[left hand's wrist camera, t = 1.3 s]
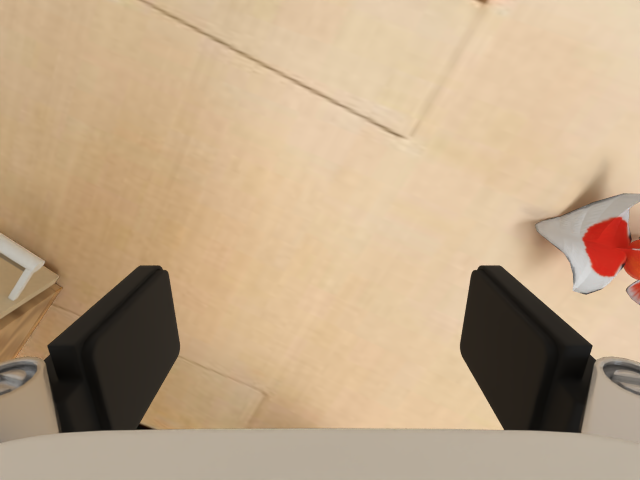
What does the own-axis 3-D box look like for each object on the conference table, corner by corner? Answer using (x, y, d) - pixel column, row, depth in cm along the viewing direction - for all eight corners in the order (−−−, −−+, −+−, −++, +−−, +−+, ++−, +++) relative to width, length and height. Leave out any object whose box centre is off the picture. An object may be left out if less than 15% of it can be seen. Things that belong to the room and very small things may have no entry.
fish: (630, 341, 39) (709, 352, 30) (500, 259, 43) (533, 245, 34) (683, 262, 40) (778, 248, 30) (550, 188, 44) (597, 154, 34)
